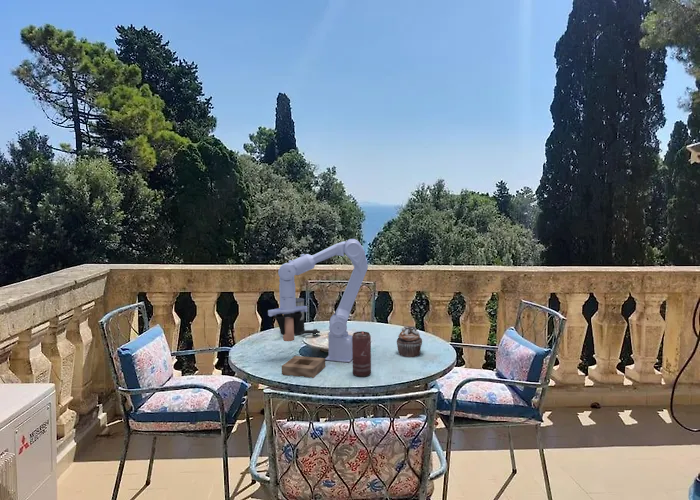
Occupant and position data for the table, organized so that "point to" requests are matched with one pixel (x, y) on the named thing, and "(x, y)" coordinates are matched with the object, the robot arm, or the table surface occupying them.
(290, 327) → the peg
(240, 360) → the table surface
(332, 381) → the table surface
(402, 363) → the table surface
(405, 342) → the cupcake
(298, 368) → the socket block
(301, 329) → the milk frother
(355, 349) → the can
